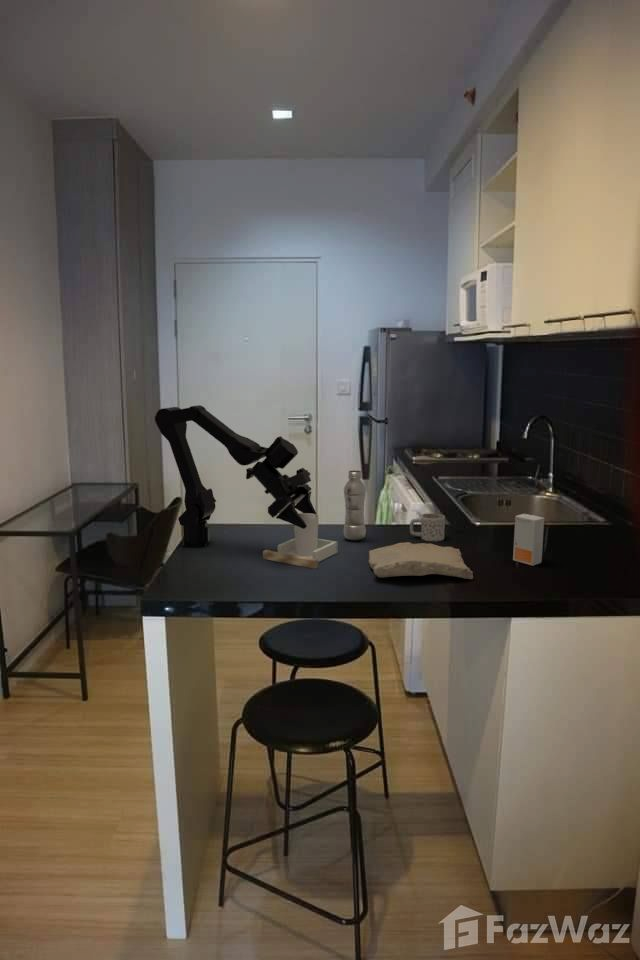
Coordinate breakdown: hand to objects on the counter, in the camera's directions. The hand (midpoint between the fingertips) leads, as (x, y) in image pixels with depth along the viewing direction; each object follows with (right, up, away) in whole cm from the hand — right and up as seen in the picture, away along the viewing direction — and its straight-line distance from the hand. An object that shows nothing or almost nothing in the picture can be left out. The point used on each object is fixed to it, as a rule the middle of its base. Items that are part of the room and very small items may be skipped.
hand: (311, 523), depth 176 cm
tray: (-1, -9, +2) cm, 9 cm away
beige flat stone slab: (+27, -12, -12) cm, 31 cm away
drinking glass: (-1, -8, +2) cm, 8 cm away
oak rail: (-6, -10, -5) cm, 12 cm away
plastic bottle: (+12, -6, +16) cm, 21 cm away
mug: (+33, -6, +18) cm, 38 cm away
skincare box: (+56, -10, -5) cm, 57 cm away
